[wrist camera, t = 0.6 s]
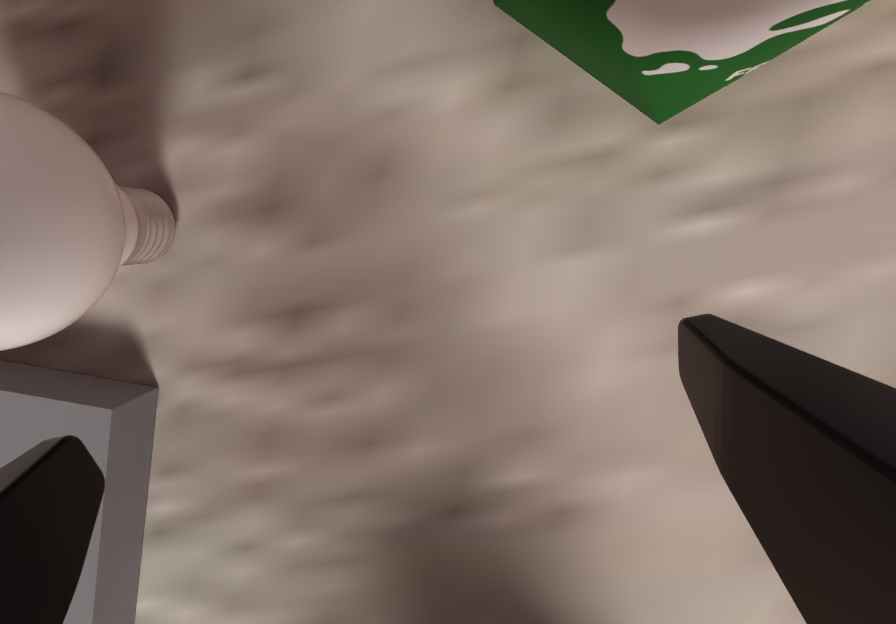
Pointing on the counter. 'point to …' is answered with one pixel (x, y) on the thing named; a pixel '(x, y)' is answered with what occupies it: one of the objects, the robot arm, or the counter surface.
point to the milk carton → (673, 41)
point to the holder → (116, 453)
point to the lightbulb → (63, 225)
